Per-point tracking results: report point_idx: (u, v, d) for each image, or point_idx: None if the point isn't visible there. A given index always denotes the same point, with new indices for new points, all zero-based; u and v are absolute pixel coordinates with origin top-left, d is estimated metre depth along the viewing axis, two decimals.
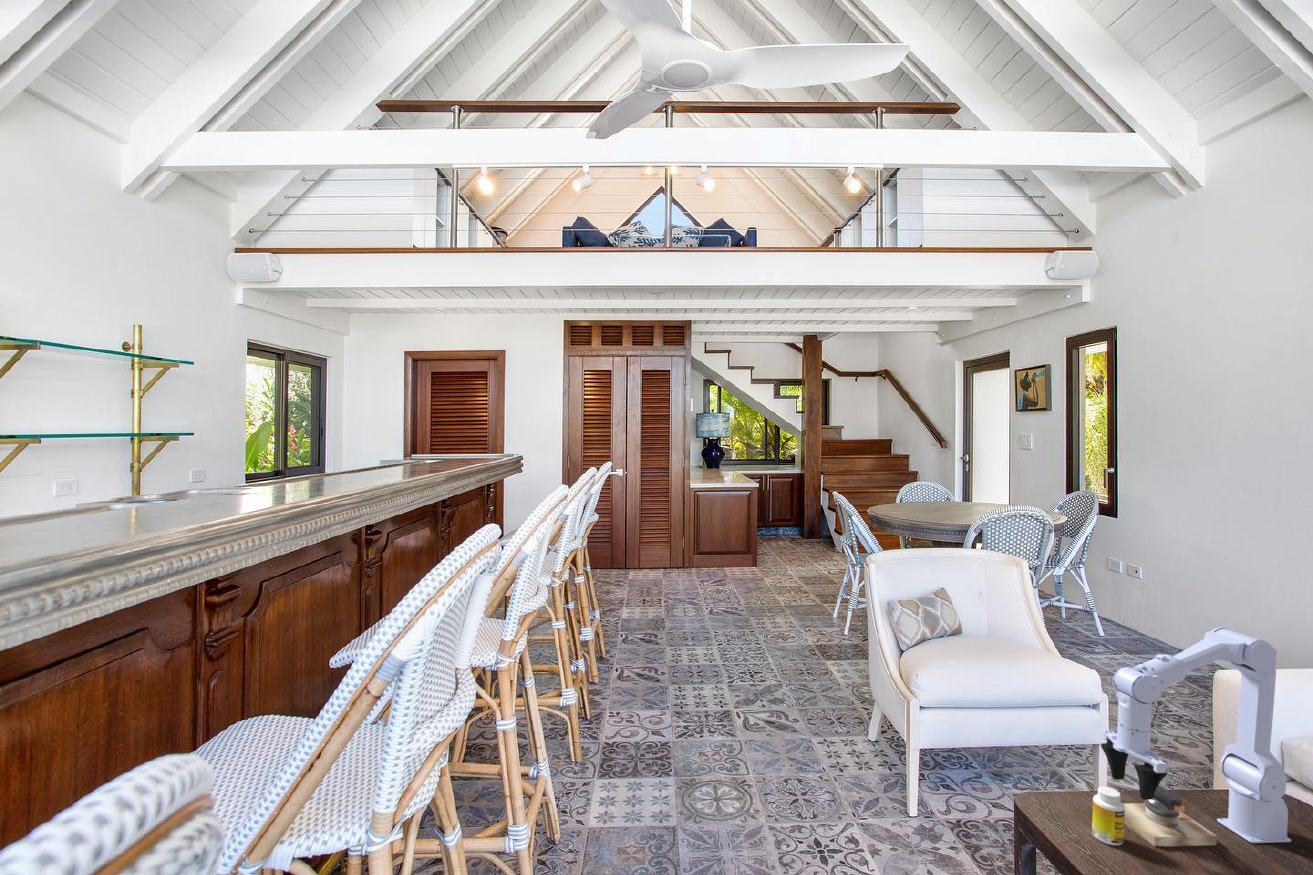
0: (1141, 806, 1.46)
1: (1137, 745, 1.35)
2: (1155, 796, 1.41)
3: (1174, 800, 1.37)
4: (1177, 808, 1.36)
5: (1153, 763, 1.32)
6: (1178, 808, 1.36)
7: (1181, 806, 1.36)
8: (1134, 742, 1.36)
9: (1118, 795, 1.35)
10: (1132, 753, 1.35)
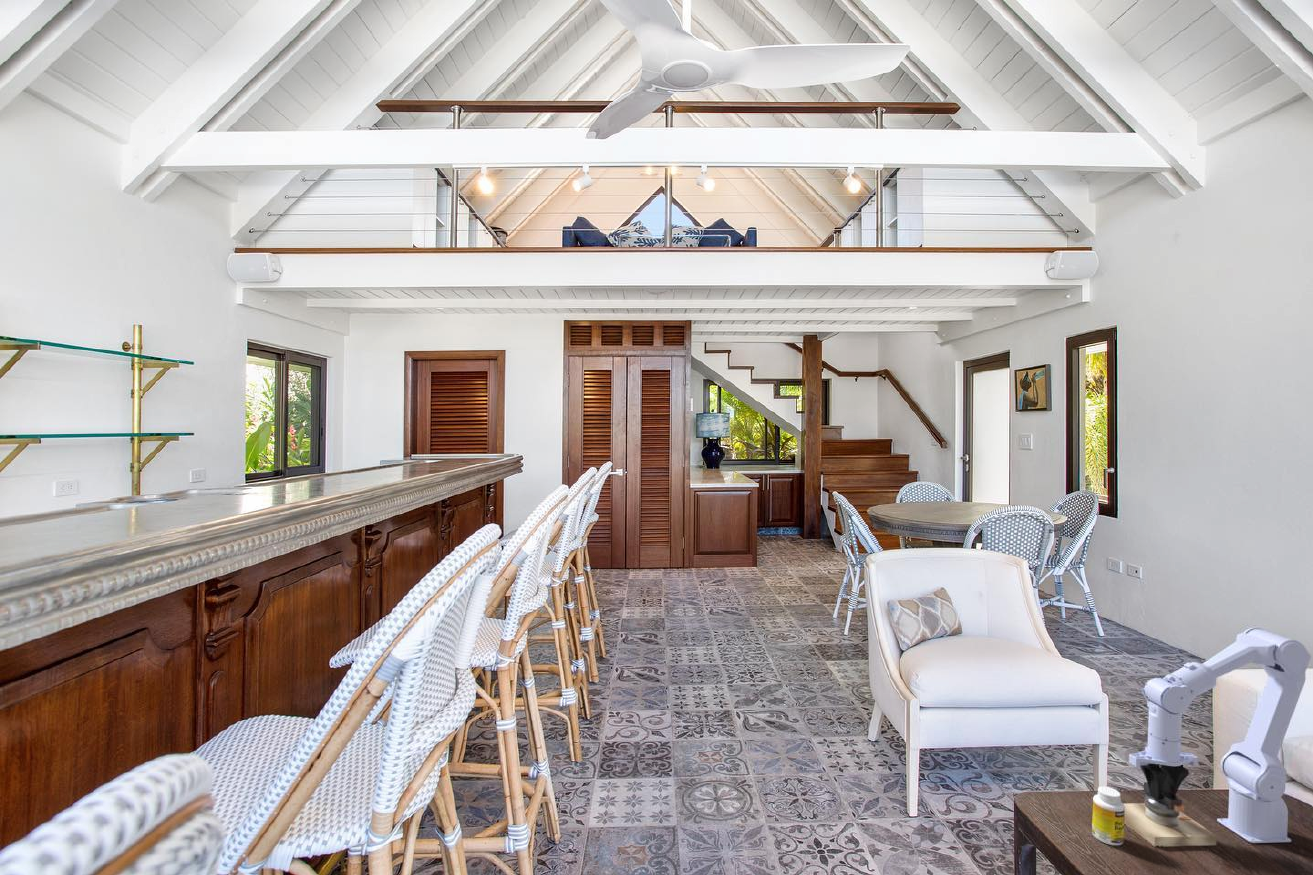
0: (1141, 806, 1.46)
1: (1148, 746, 1.42)
2: None
3: (1174, 800, 1.37)
4: (1177, 808, 1.36)
5: None
6: (1178, 808, 1.36)
7: (1181, 806, 1.36)
8: None
9: (1118, 795, 1.35)
10: None
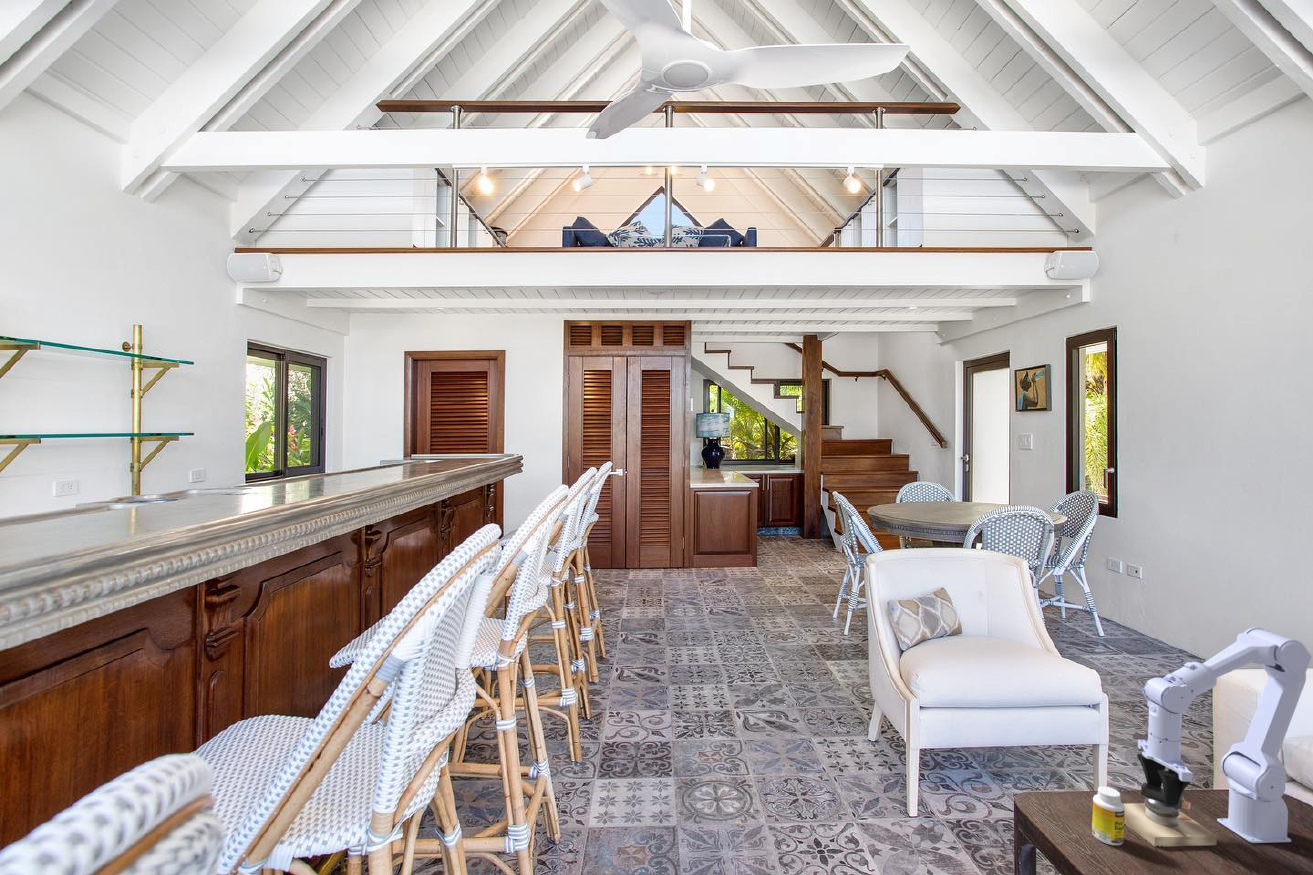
0: (1141, 806, 1.46)
1: (1165, 754, 1.38)
2: (1159, 798, 1.40)
3: (1182, 798, 1.38)
4: (1188, 806, 1.37)
5: (1178, 771, 1.35)
6: (1189, 806, 1.37)
7: (1188, 803, 1.38)
8: (1162, 750, 1.39)
9: (1118, 795, 1.35)
10: (1160, 761, 1.39)
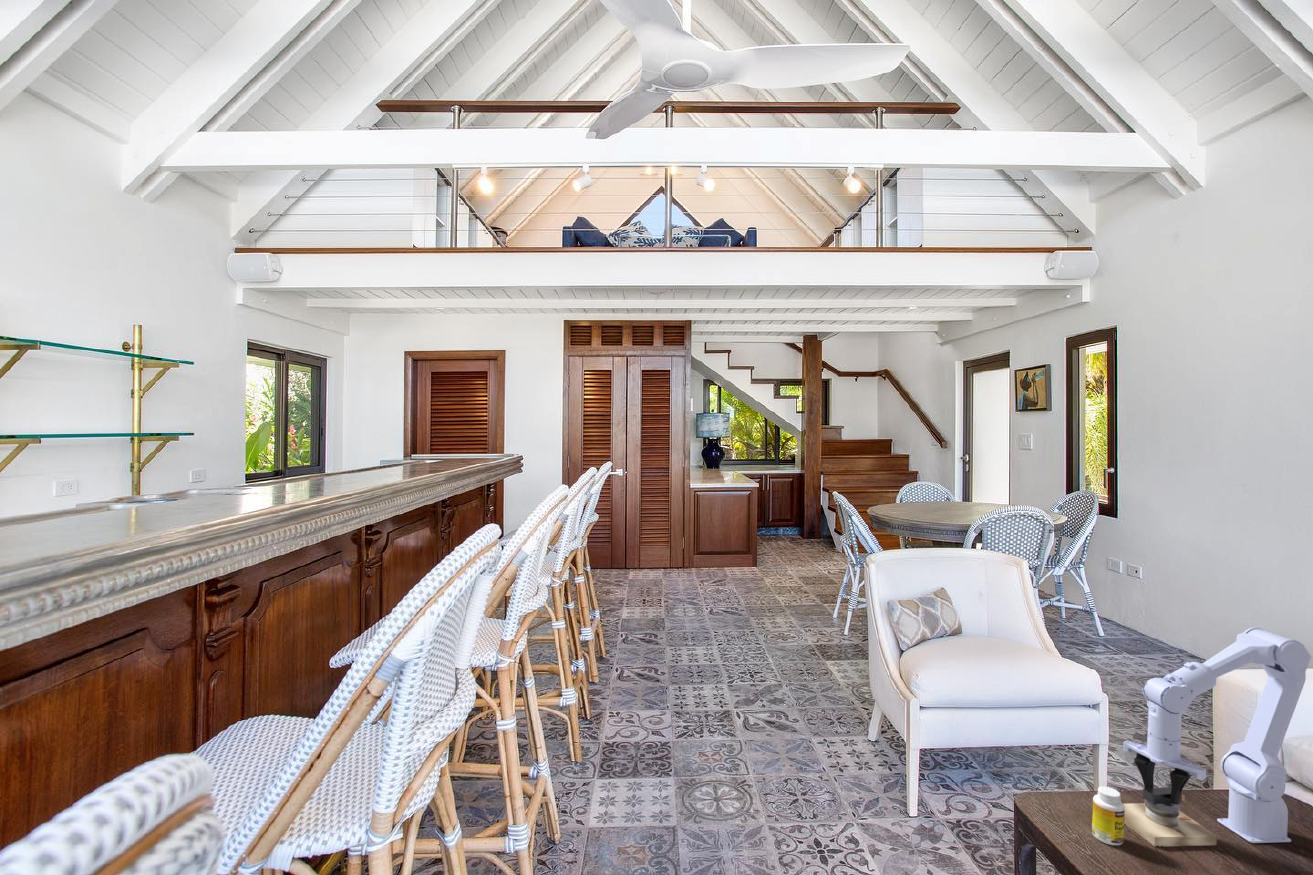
0: (1141, 806, 1.46)
1: (1175, 755, 1.38)
2: (1165, 800, 1.40)
3: None
4: (1183, 797, 1.41)
5: (1197, 771, 1.35)
6: None
7: None
8: (1172, 752, 1.38)
9: (1118, 795, 1.35)
10: (1172, 764, 1.37)
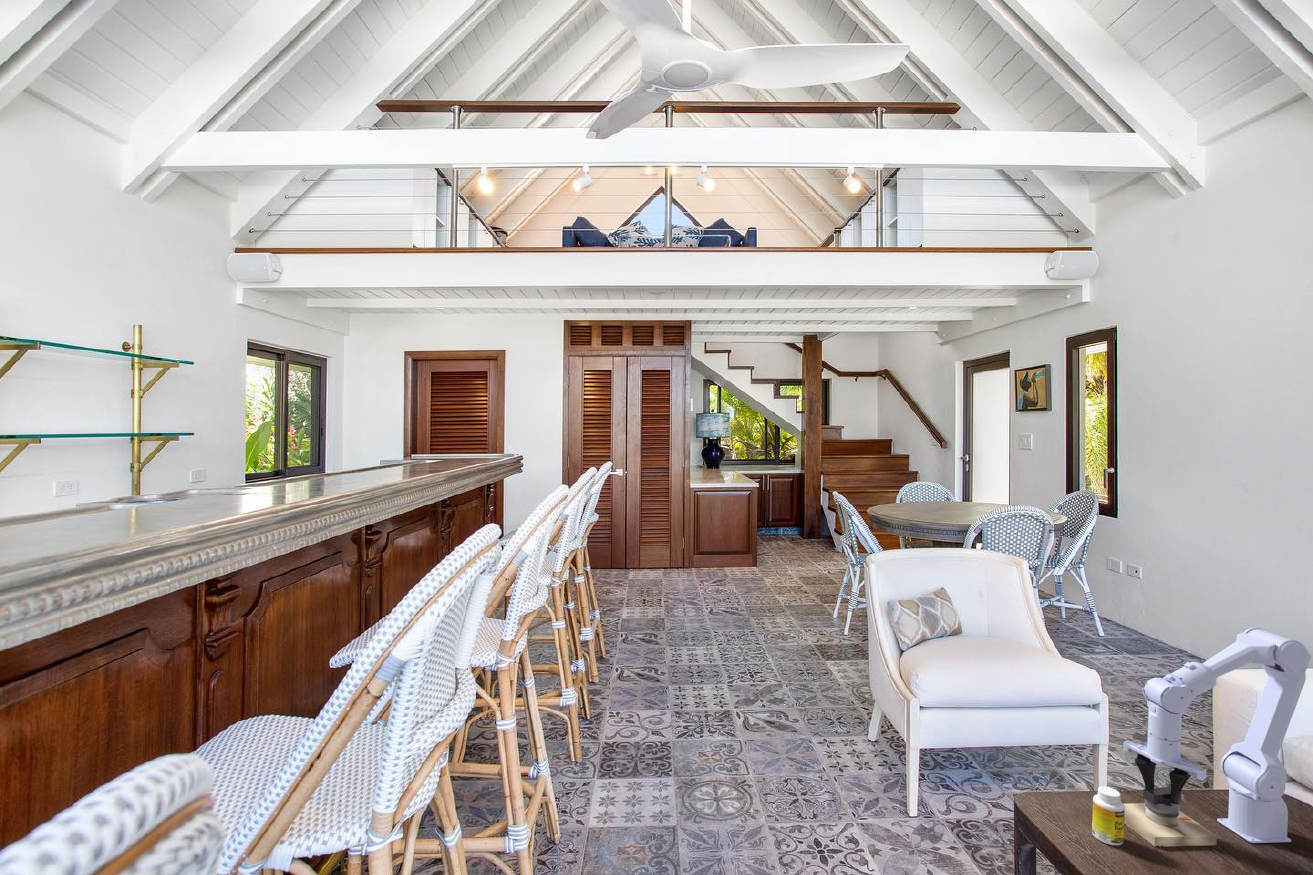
0: (1141, 806, 1.46)
1: (1175, 755, 1.38)
2: (1166, 800, 1.40)
3: None
4: (1183, 796, 1.41)
5: (1197, 771, 1.35)
6: None
7: None
8: (1172, 753, 1.38)
9: (1118, 795, 1.35)
10: (1172, 764, 1.37)
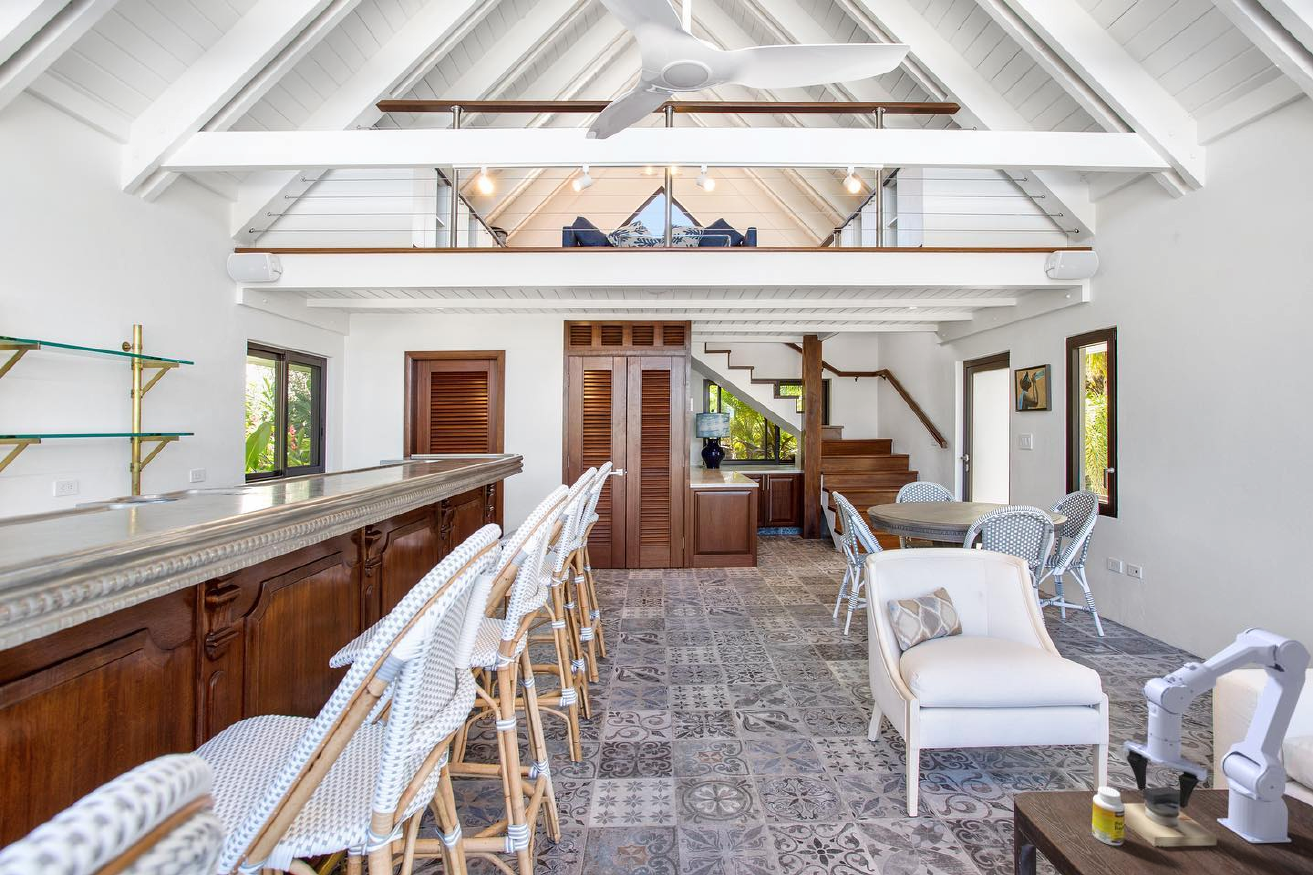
0: (1141, 806, 1.46)
1: (1175, 756, 1.38)
2: (1166, 800, 1.40)
3: None
4: None
5: (1197, 772, 1.35)
6: None
7: None
8: (1173, 753, 1.38)
9: (1118, 795, 1.35)
10: (1173, 764, 1.37)
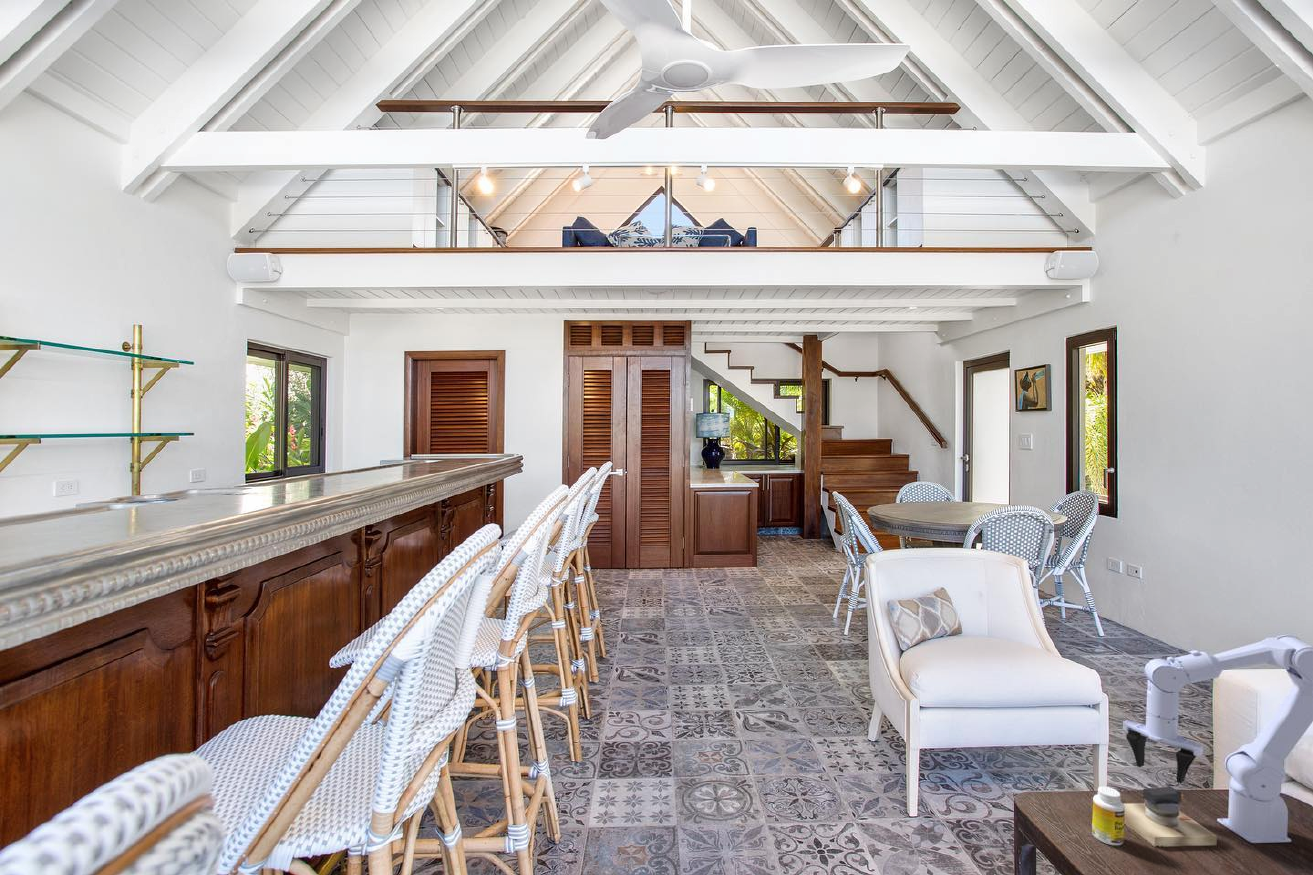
0: (1141, 806, 1.46)
1: (1173, 733, 1.43)
2: (1166, 800, 1.40)
3: None
4: (1183, 796, 1.41)
5: (1194, 748, 1.40)
6: None
7: None
8: (1170, 730, 1.43)
9: (1118, 795, 1.35)
10: (1170, 741, 1.43)
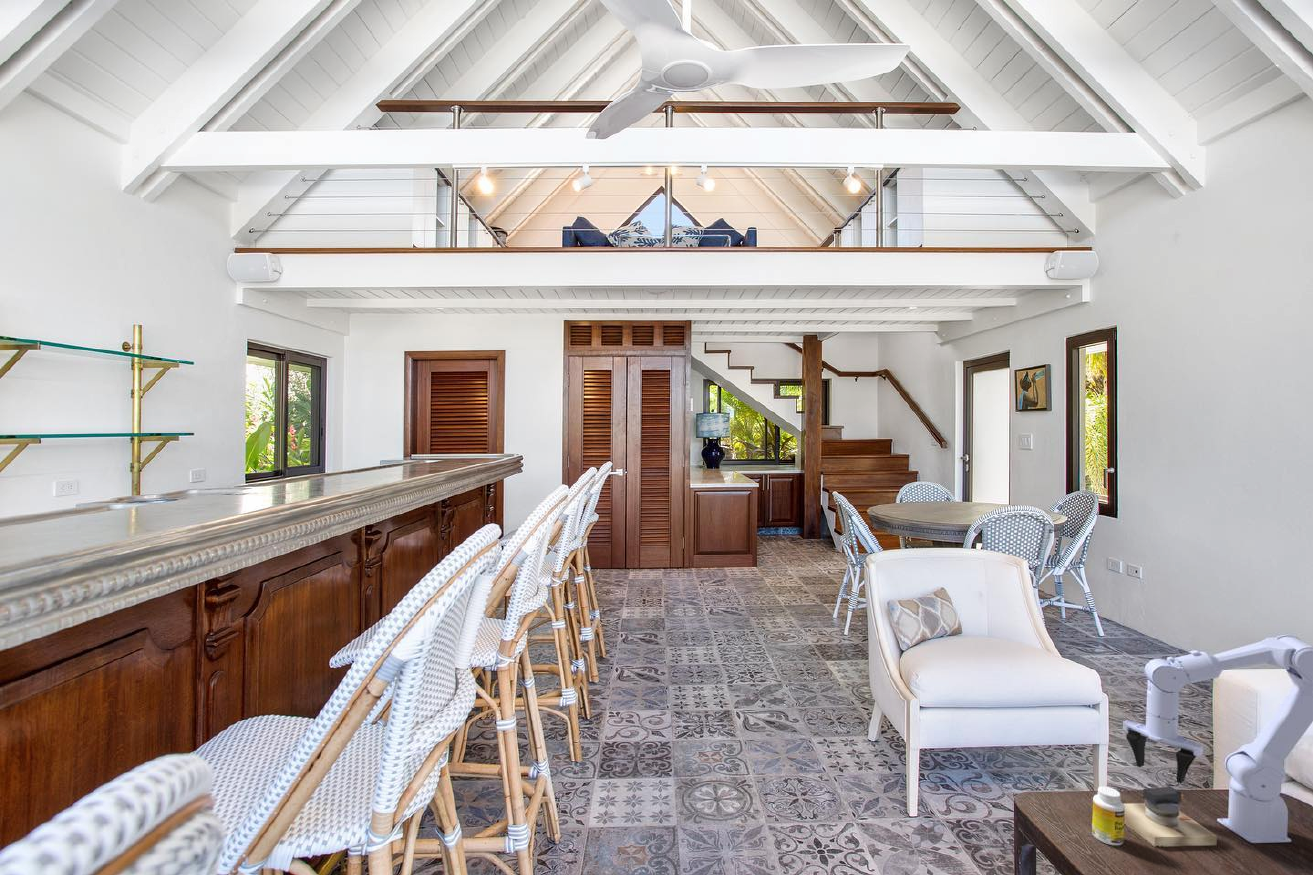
0: (1141, 806, 1.46)
1: (1173, 733, 1.43)
2: (1166, 800, 1.40)
3: None
4: (1183, 796, 1.41)
5: (1194, 748, 1.40)
6: None
7: None
8: (1170, 730, 1.43)
9: (1118, 795, 1.35)
10: (1170, 741, 1.43)
